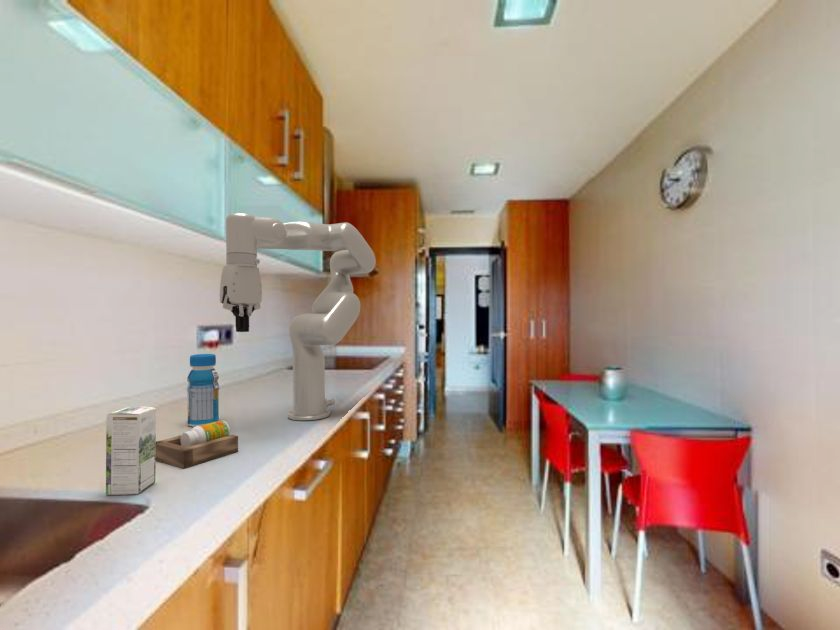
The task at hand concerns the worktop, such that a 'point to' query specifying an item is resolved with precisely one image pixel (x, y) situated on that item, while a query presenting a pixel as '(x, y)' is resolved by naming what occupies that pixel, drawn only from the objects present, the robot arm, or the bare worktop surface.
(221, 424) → the supplement bottle
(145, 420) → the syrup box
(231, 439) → the tray
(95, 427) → the worktop surface
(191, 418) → the beverage bottle
